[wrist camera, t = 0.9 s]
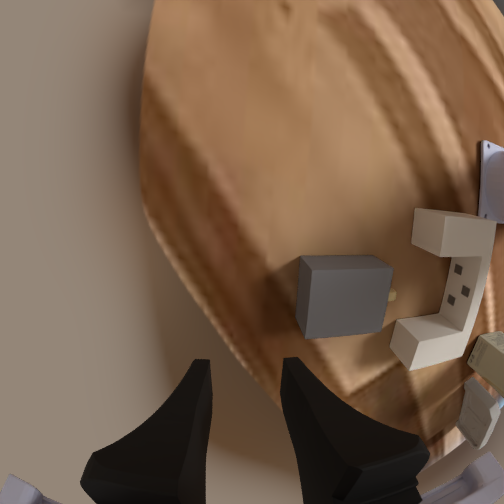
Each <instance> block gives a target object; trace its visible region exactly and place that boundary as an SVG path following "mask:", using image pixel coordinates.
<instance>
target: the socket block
mask: <svg viewBox="0 0 504 504" xmlns="http://www.w3.org/2000/svg"><path fill="white" fill-rule="evenodd" d="M496 224H497V221H493V220H489V219H486V218H482V217H479V216H475V215H471V214H467V213H459V212H451V211H442V210H433V209H423V208H415V211H414V221H413V230H412V239H411V244H413V245H415V246H417V247H419V248H421V249H424V250H426V251H428V252H430V253H432V254H434V255H436V256H438V257H452V258H451V264H450V269H449V274H448V279H447V283H446V288H445V292H444V296H443V300H442V304H441V308H440V311H439V313H438V314H432V315H425V316H418V317H411V318H404V319H396V324H395V327H394V331H393V335H392V339H391V342H390V346H389V347H390V349H391V350H392V351H393V352H394V353H395V355H396V356H397V357H398V358H399V359H400V361H401V362H402V363H403V364H404V365H405V367H406V368H407V369H408V370H409V371H411V370H415V369H419V368H423V367H427V366H431V365H434V364H438V363H441V362H445V361H448V360H451V359H455V358H458V357H461V356H462V355H463V353H464V350H465V347H466V345H467V342H468V339H469V337H470V334H471V331H472V328H473V325H474V322H475V319H476V316H477V313H478V309H479V306H480V302H481V299H482V295H483V291H484V288H485V284H486V279H487V275H488V271H489V266H490V261H491V256H492V250H493V244H494V238H495V231H496Z"/></svg>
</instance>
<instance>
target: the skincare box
mask: <svg viewBox="0 0 504 504" xmlns="http://www.w3.org/2000/svg"><path fill="white" fill-rule="evenodd" d="M467 364H468V365H469V366H470V367H471V368H472V369H473V370H475V371H476V372H477V373H478V374H479V375H480V376H481V377H482V378H483V379H484V380H485V381H486V382H487V383H489V384H490V385H491V386H492V387H493V388H494V389H495V390H496V391H497V392H498V393H499V394H500V395H501V396H502V397H503V398H504V333H502V332H501V331H498V332H492V333H488V334H483V335H480V336H479V337H478V340H477V342H476V344H475V346H474V349H473V351H472V353H471V355H470V357H469V359H468V362H467Z"/></svg>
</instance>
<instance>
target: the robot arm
mask: <svg viewBox="0 0 504 504" xmlns="http://www.w3.org/2000/svg"><path fill="white" fill-rule="evenodd" d="M478 216H479V217H482V218H486V219H489V220H493V221H497V223H501V224H504V148H502V147H500V146H498V145H496V144H493V143H491V142H489V141H486V140H482V141H481V182H480V199H479V210H478ZM484 216H485V217H484ZM280 395H281V402H282V408H283V413H284V417H285V420H286V423H287V427H288V430H289V434H290V437H291V440H292V443H293V446H294V450H295V454H296V458H297V464H298V469H299V475H300V482H301V488H302V495H303V503H304V504H493V503H495V502H496V501H497V500H498V499H499V498H500V497H501V496H503V495H504V470H503V468H502V467H501V466H500V464H499V463H498V462H497V460H496V459H495V458H494V456H493V455H492V454H491V452H487V453H486V454H484V455H482V456H481V457H480V458H478V459H476V460H475V461H473V462H472V463H471V464H469V465H468V466H467V467H466V468H465V469H464V471H463V472H462V474H460V475H459V476H457V477H455V478H453V479H452V480H450V481H448V482H446V483H444V484H442V485H440V486H438V487H436V488H435V489H432V490H430V491H428V492H426V493H424V494H422V495H420V494H419V492H418V490H417V488H416V486H417V485H418V481H417V479H416V475H417V474H418V473H419V472H420V471H421V469H422V468H423V467H424V466H425V464H426V463H427V461H428V460H429V456H430V453H429V451H428V449H427V447H426V446H425V444H424V442H423V441H422V440H421V438H420V437H419V436H418V435H415V434H411V433H408V432H404V431H401V430H397V429H395V428H392V427H389V426H387V425H384V424H382V423H380V422H377V421H375V420H373V419H371V418H369V417H368V416H366V415H364V414H362V413H360V412H359V411H357V410H355V409H354V408H352V407H351V406H349V405H348V404H346V403H345V402H344V401H342V400H341V399H340V398H338V397H337V396H336V395H335V394H334V393H332V392H331V391H330V390H329V389H328V388H327V387H326V386H325V385H324V384H323V383H322V382H321V381H320V380H319V379H318V378H317V377H316V376H315V375H314V374H313V373H312V372H311V371H310V370H309V369H308V368H307V367H306V366H305V364H304V363H303V362H302V361H301V360H300V359H299V358H298V357H291V358H283V369H282V379H281V388H280ZM212 396H213V393H212V382H211V370H210V360H206V359H195V360H194V361H193V362H192V364H191V366H190V368H189V369H188V371H187V373H186V374H185V376H184V378H183V379H182V381H181V382H180V384H179V385H178V386H177V387H176V389H175V390H174V391H173V393H172V394H171V395H170V397H169V398H168V399H167V400H166V401H165V402H164V404H163V405H162V406H161V407H160V408H159V409H158V410H157V411H156V412H155V413H154V414H153V415H152V416H151V417H149V418H148V419H147V420H146V421H145V422H144V423H142V424H141V425H140V426H139V427H137V428H136V429H135V430H133V431H132V432H130V433H129V434H127V435H126V436H124V437H123V438H121V439H120V440H118V441H116V442H115V443H113V444H111V445H109V446H107V447H105V448H102V449H100V450H98V451H96V452H93V453H92V455H91V457H90V459H89V460H88V462H87V465H86V467H85V470H84V472H83V475H82V478H81V481H80V484H81V487H82V488H83V489H84V491H85V492H86V493H87V494H88V495H89V496H90V497H91V498H92V500H93V501H94V502H95V503H96V504H206V497H205V496H206V493H205V492H206V486H205V483H206V481H205V479H206V472H205V471H206V453H207V446H208V439H209V432H210V425H211V418H212ZM0 504H61V503H59V502H57V501H54V500H52V499H49V498H47V497H45V496H43V494H42V493H41V492H40V491H39V490H38V489H37V488H35V487H34V486H32V485H31V484H29V483H27V482H25V481H24V480H22V479H20V478H18V477H16V476H14V475H12V474H9V476H8V478H7V480H6V482H5V484H4V486H3V488H2V490H1V492H0Z"/></svg>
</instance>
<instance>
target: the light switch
mask: <svg viewBox="0 0 504 504" xmlns="http://www.w3.org/2000/svg"><path fill="white" fill-rule="evenodd" d="M464 389H466V390H465V395H464V400H463V404H462V408H461V413H460V417H459V420H457V421H456V426H457V428H458V429H459V430H460V432H461V433H462V434H463V435H464V437H465V438H466V439H467V441H468V442H469V444H470V445H471V446H472V448H473V449H477V450H479V449H480V448H482V447H483V446H484V445H485V444H486V443H487V441H488V439H489V437H490V435H491V433H492V432H493V429H494V427H495V424H496V422H497V420H498V417H499V415H500V409H499V405H498V402H497V401H496V400H495V399H494V398H493V397H492V396H491V394H490V393H489V392H488V391H487V390H486V389H485V388H484V387H483V386H482V385H481V384H480V383H479V382H478V381H477V380H476V379H475V378H474V377H472V378H470V379H469V380H468V381H466V382H465V383H464Z"/></svg>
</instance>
